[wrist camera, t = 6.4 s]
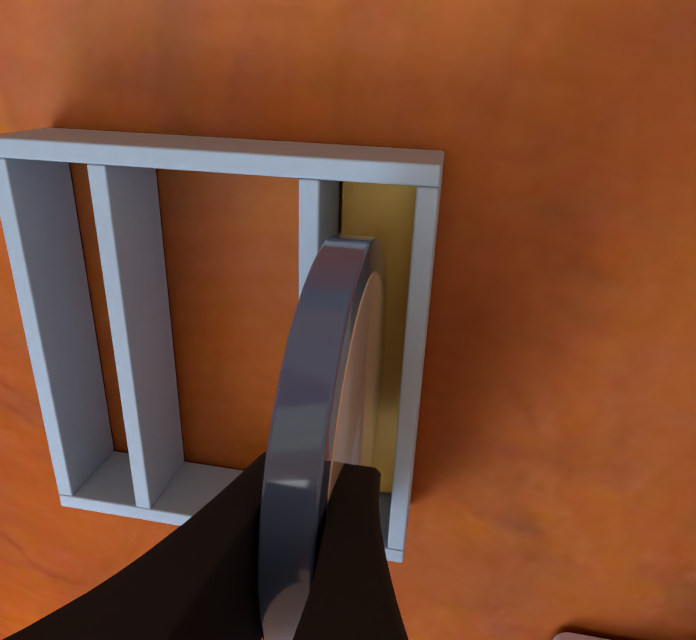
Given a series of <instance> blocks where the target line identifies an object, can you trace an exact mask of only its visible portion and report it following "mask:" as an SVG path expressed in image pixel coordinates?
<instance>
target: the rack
mask: <svg viewBox="0 0 696 640" xmlns="http://www.w3.org/2000/svg"><path fill="white" fill-rule="evenodd" d="M444 154H445V153H444V151H442V150H426V149H409V148H392V147H375V146H358V145H341V144H324V143H307V142H290V141H273V140H256V139H239V138H222V137H205V136H188V135H171V134H154V133H137V132H120V131H103V130H86V129H69V128H52V127H48V128H41V129H34V130H26V131H19V132H12V133H5V134H0V217H1V222H2V227H3V231H4V236H5V241H6V246H7V250H8V255H9V260H10V265H11V269H12V274H13V279H14V284H15V288H16V293H17V298H18V302H19V307H20V312H21V317H22V321H23V326H24V331H25V336H26V340H27V345H28V350H29V355H30V359H31V364H32V369H33V374H34V378H35V383H36V388H37V392H38V397H39V402H40V407H41V411H42V416H43V421H44V426H45V430H46V435H47V440H48V445H49V449H50V454H51V459H52V464H53V468H54V473H55V478H56V482H57V487H58V492H59V494H60V495H59V496H60V501H61V505H62V506H66V507H72V508H78V509H84V510H90V511H96V512H102V513H108V514H114V515H120V516H126V517H132V518H138V519H144V520H150V521H156V522H162V523H168V524H173V525H179V526H181V525H182V524H184V523H185V522H186V521H187V520H188V519H190V518H191V517H192V516H193V515H194V514H195V513H197V512H198V511H199V510H200V509H201V508H202V507H204V506H205V505H206V504H207V503H208V502H209V501H211V500H212V499H213V498H214V497H215V496H216V495H218V494H219V493H220V492H221V491H222V490H223V489H224V488H225V487H226V486H228V485H229V484H230V483H231V482H232V481H233V480H234V479H235V478H236V477H237V476H239V475H240V474H241V473H242V472H243V471H244V470H237V469H230V468H224V467H217V466H210V465H204V464H197V463H190V462H184V452H183V442H182V432H181V422H180V411H179V401H178V391H177V381H176V371H175V360H174V350H173V340H172V330H171V319H170V309H169V299H168V289H167V279H166V268H165V258H164V248H163V238H162V228H161V217H160V207H159V197H158V187H157V177H156V168H159V169H174V170H188V171H203V172H217V173H232V174H247V175H261V176H276V177H290V178H300V179H299V298H300V295H301V292H302V288H303V286H304V283H305V281H306V278H307V275H308V273H309V270H310V268H311V265H312V263H313V261H314V259H315V257H316V255H317V253H318V251H319V250H320V248H321V247H322V245H323V244H324V242H325V241H326V240H327V239H328V238H329V237H330V236H331V235H333V234H337V233H338V224H339V189H340V181H343V185H342V218H341V233H347V234H360V235H372V236H376V237H378V238H379V239H380V241H381V243H382V246H383V251H384V256H385V265H386V330H385V348H384V362H383V375H382V387H381V397H380V407H379V417H378V426H377V434H376V443H375V451H374V458H373V466H372V467H375V468H376V469H377V470H378V471H379V472H380V473H381V482H380V496H379V512H380V523H381V530H382V536H383V542H384V547H385V553H386V559H387V560H388V561H394V562H400V563H402V562H403V558H404V550H405V542H406V533H407V525H408V517H409V509H410V500H411V490H412V479H413V469H414V459H415V449H416V439H417V429H418V418H419V408H420V398H421V388H422V378H423V368H424V357H425V347H426V337H427V327H428V317H429V307H430V297H431V286H432V276H433V266H434V256H435V246H436V236H437V225H438V215H439V205H440V195H441V185H442V175H443V173H442V171H443V164H444ZM69 162H71V163H86V164H88V165H87V169H88V176H89V183H90V190H91V197H92V203H93V210H94V217H95V224H96V231H97V238H98V245H99V252H100V259H101V266H102V273H103V280H104V286H105V293H106V300H107V307H108V314H109V321H110V328H111V335H112V342H113V349H114V356H115V362H116V369H117V376H118V383H119V390H120V397H121V404H122V411H123V418H124V425H125V432H126V438H127V445H128V452H129V453H123V452H117V451H114V448H113V441H112V435H111V428H110V422H109V416H108V409H107V403H106V397H105V390H104V384H103V377H102V371H101V365H100V358H99V352H98V346H97V339H96V333H95V326H94V320H93V314H92V307H91V301H90V294H89V288H88V282H87V275H86V269H85V263H84V256H83V250H82V243H81V237H80V231H79V224H78V218H77V212H76V205H75V199H74V192H73V186H72V180H71V173H70V167H69Z"/></svg>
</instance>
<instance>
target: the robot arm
mask: <svg viewBox="0 0 696 640" xmlns="http://www.w3.org/2000/svg"><path fill="white" fill-rule="evenodd" d="M265 460H266V452H264V453H263V454H262V455H260V456H259V457H258V458H257V459H256V460H255V461H254V462H253V463H251V464H250V465H249V466H248V467H247V468H246V469H245V470H244V471H243V472H242V473H241V474H240V475H239V476H237V477H236V478H235V479H234V480H233V481H232V482H231V483H230V484H229V485H228V486H226V487H225V488H224V489H223V490H222V491H221V492H220V493H219V494H218V495H216V496H215V497H214V498H213V499H212V500H211V501H209V502H208V503H207V504H206V505H205V506H204V507H202V508H201V509H200V510H199V511H198V512H197V513H195V514H194V515H193V516H192V517H191V518H190V519H188V520H187V521H186V522H185V523H184V524H182V525H181V526H180V527H179V528H177V529H176V530H175V531H173V532H172V533H171V534H170V535H168V536H167V537H166V538H164V539H163V540H162V541H160V542H159V543H158V544H157V545H155V546H154V547H153V548H151V549H150V550H149V551H148V552H146V553H145V554H144V555H142V556H141V557H139V558H138V559H137V560H135V561H134V562H132V563H131V564H130V565H128V566H127V567H125V568H124V569H122V570H121V571H119V572H118V573H116V574H115V575H113V576H112V577H110V578H109V579H107V580H106V581H104V582H103V583H101V584H100V585H98V586H97V587H95V588H94V589H92V590H90V591H89V592H87V593H86V594H84V595H82V596H81V597H79V598H77V599H75V600H74V601H72V602H70V603H68V604H67V605H65V606H63V607H61V608H60V609H58V610H56V611H54V612H53V613H51V614H49V615H47V616H46V617H44V618H42V619H40V620H39V621H37V622H35V623H33V624H32V625H30V626H28V627H26V628H24V629H22V630H20V631H18V632H17V633H15V634H13V635H11V636H9V637H7V638H5V639H3V640H261V639H262V631H261V625H260V619H259V605H258V577H257V560H258V536H259V520H260V508H261V496H262V486H263V477H264V469H265ZM380 482H381V473H380V472H379V471H378V470H377V469H376V468H375V467H368V466H361V465H354V464H347V463H344V465H343V467H342V469H341V471H340V473H339V476H338V478H337V480H336V483H335V485H334V488H333V490H332V494H331V498H330V503H329V508H328V513H327V518H326V522H325V527H324V532H323V537H322V542H321V547H320V552H319V556H318V561H317V566H316V571H315V574H314V578H313V582H312V586H311V589H310V593H309V595H308V598H307V601H306V604H305V607H304V609H303V612H302V615H301V618H300V620H299V623H298V626H297V629H296V632H295V634H294V637H293V640H408V637H407V634H406V631H405V628H404V624H403V621H402V618H401V614H400V611H399V607H398V604H397V600H396V596H395V593H394V589H393V585H392V581H391V577H390V572H389V568H388V563H387V559H386V553H385V547H384V542H383V536H382V530H381V523H380V512H379V496H380ZM553 640H610V639H604V638H599V637H593V636H587V635H582V634H576V633H570V632H563V633H559V634H558V635H556V636H555V637H554V638H553Z"/></svg>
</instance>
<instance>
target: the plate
mask: <svg viewBox="0 0 696 640" xmlns="http://www.w3.org/2000/svg"><path fill="white" fill-rule="evenodd" d="M385 330H386V265H385V256H384V251H383V246H382V243H381V241H380V239H379V238H378V237H376V236H372V235H360V234H347V233H337V234H333V235H331V236H330V237H329V238H328V239H327V240H326V241H325V242H324V244H323V245H322V247H321V248H320V250H319V251H318V253H317V255H316V257H315V259H314V261H313V263H312V265H311V268H310V270H309V273H308V275H307V278H306V281H305V283H304V286H303V288H302V292H301V295H300V298H299V301H298V304H297V307H296V310H295V314H294V317H293V321H292V325H291V329H290V332H289V336H288V340H287V344H286V348H285V353H284V357H283V362H282V366H281V371H280V375H279V380H278V386H277V391H276V396H275V402H274V407H273V412H272V419H271V425H270V432H269V439H268V445H267V452H266V460H265V469H264V477H263V486H262V496H261V508H260V520H259V536H258V560H257V577H258V605H259V619H260V625H261V631H262V638H263V640H293V637H294V634H295V632H296V629H297V626H298V623H299V620H300V618H301V615H302V612H303V609H304V607H305V604H306V601H307V598H308V595H309V593H310V589H311V586H312V582H313V578H314V574H315V571H316V566H317V561H318V556H319V552H320V547H321V542H322V537H323V532H324V527H325V522H326V518H327V513H328V508H329V503H330V498H331V494H332V490H333V488H334V485H335V483H336V480H337V478H338V476H339V473H340V471H341V469H342V467H343V465H344V463H347V464H354V465H361V466H368V467H372V466H373V458H374V451H375V443H376V434H377V426H378V417H379V407H380V397H381V387H382V375H383V362H384V348H385Z"/></svg>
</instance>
